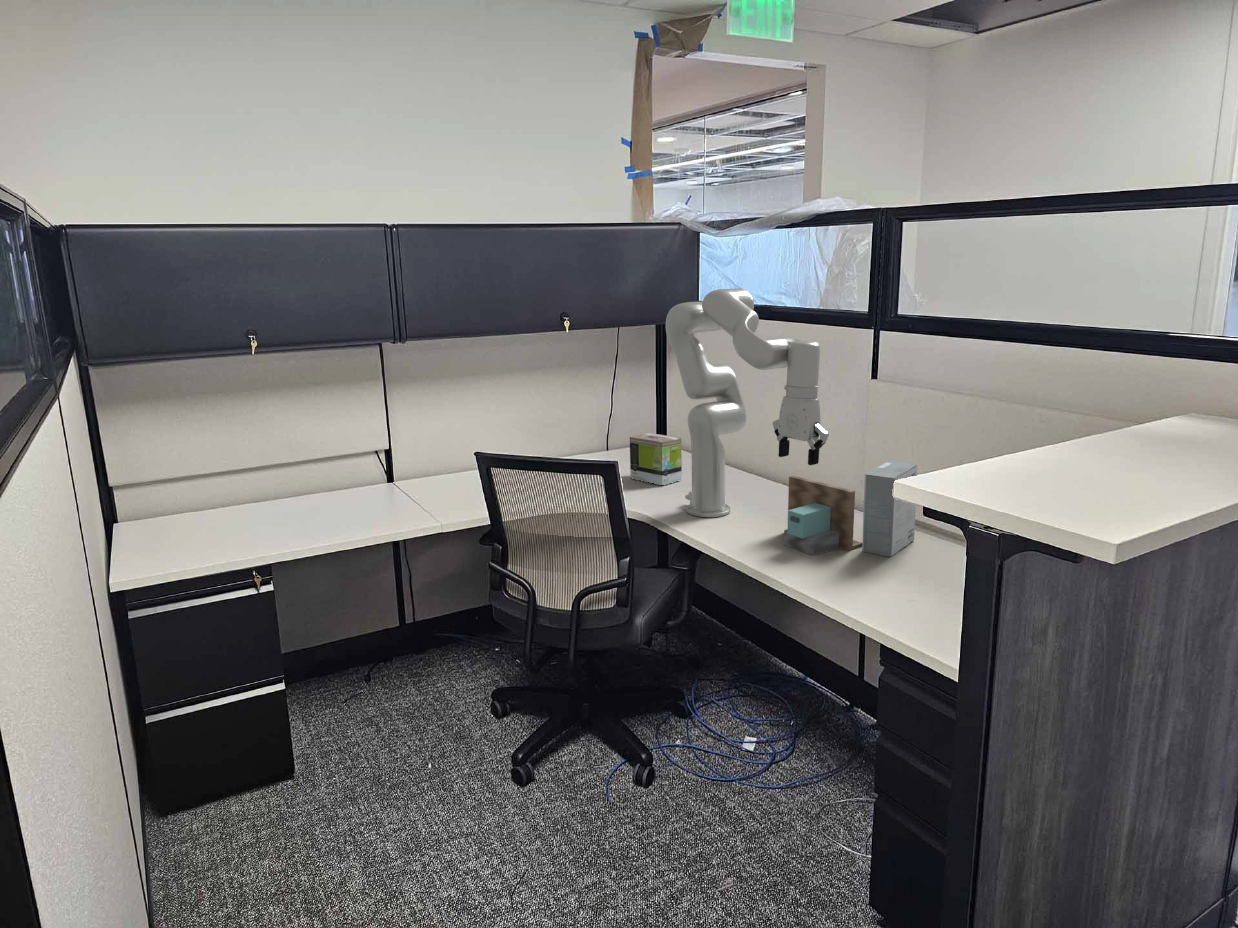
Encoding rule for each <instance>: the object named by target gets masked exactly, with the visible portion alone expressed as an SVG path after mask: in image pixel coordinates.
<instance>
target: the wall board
mask: <svg viewBox="0 0 1238 928" xmlns="http://www.w3.org/2000/svg"><path fill="white" fill-rule="evenodd" d="M855 500H856V490H852V489H848V488H844V487H841V486H837V485H836V486H835V485H832V484H828V483H824V482H820V481H816V480H812V479H808V478H803V477H800V476H796V475H789V476H788V501H787V502H788V503H787V506H788V507H787V511H788V510H791V509H795V508H798V507H802V506H806V505H809V504H813V503H818V504H821V505H825V506H828V507H831V518H830V530H829V531H826V532H822V533H819V534H816V535H813V536H809V537H806V538H800V537H797V536H794V535H790V534H787V529H788V528H786V529H784V530H783V537H784V538H783V546H785V547H788V548H791V549H793V550H797V551H800V552H802V553H806V554H808V555H812V556H813V557H814V556H818V555H821V554H824V553H827V552H831V551H832V550H833V551H834V550H837V549H842V550H844V551H848V552H849V551H853V550H855V549H857V548H862V541H858V540H854V528H855V527H854V526H855V525H854V523H855V502H856V501H855Z"/></svg>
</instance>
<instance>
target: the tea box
mask: <svg viewBox="0 0 1238 928" xmlns="http://www.w3.org/2000/svg"><path fill="white" fill-rule="evenodd" d="M629 459H630V460H629V463H630V465H629V466H630V467H629V469H630V479H631V478H632V479H631V480H634V479H635V481H639V480H641V481H640V482H643V481H644V482H645V483H648V482H649V483H648V484H652V483H654V485H657V486H661V485H664V486H667V485H666V484H668V483H672V482H675V483H677V482H676V481H678V480H681V481H682V475H683V474H682V461H683V460H682V438H681V437H678V436H671V435H665V434H660V433H659V434H657V433H652V432H647V433H642V434H638V435H633V436H629ZM672 484H673V483H672ZM668 485H669V484H668Z"/></svg>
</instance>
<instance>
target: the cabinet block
mask: <svg viewBox="0 0 1238 928" xmlns="http://www.w3.org/2000/svg"><path fill="white" fill-rule="evenodd" d="M830 518H831V507H828V506H825V505H821V504H818V503H813V504H809V505H806V506H802V507H798V508H795V509H791V510H788V509H787V528H786V529H787V534H790V535H794V536H797V537H800V538H806V537H809V536H813V535H816V534H819V533H822V532H826V531H829V530H830Z"/></svg>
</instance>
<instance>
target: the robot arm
mask: <svg viewBox="0 0 1238 928" xmlns="http://www.w3.org/2000/svg"><path fill="white" fill-rule="evenodd" d="M754 302H755V300H754V298H753V296H752V294H751V293H750V292H749V291H748V290H746V289H744V288H718V289H714V290H712V291H709V292H708V293H707V294H705V296H704V297H703V300H701V301H687V302H682V303H678V304H675V305H674V306H672V307H671V308H670V309H669V311H668V313H667V315H666V319H665V332H666V337H667V339H668V340H667V341H668V343H669V344H670V346H671V349H672V351H673V353H674V356H675V359H676V362H677V366H678V371H679V374H680V377H681V381H682V385H683V388H684V391H685V395H686V396H687V397H688V398H689V399H691V400H694V401H695V400H697V401H699V400H706V399H707V400H708V399H716V401H711V402H703V403H699V404H697V405H695V406H694V407H692V409H690V411H689V412H688V415H687V425H688V431H689V436H690V442H691V443H690V444H691V445H690V447H691V491H689V492H688V494H685V496H684V497H685V498H684V499H685V500H687V501H689V504H688V505H687V506H686V512H687V513H688V514H689V515H691V516H695V517H700V518H716V517H717V518H719V517H723V516H727V515H728V514H730V512H731V506H730V505H729V504H726V450H725V446H724V444H723V443H722V441H721V439H720V436H722V435H726V434H727V435H728V434H733V433H738V432H740V431H741V430H743V428H744V427H745V426H746V423H747V410H746V406H745V402H744V400H743V399H744V398H743V395H742V392H741V388H740V385H739V381H738V378H737V375H736V373H735V372H734V370H733V369H732V368H731V367H730V366H729V365H727V364H724V363H713V364H710V362H709V359H708V355H707V353H706V349H705V347H704V346H703V344H702V343H701V341H700V340H699V339H698V338H697V337H696V336H695V335H694V333H705V332H706V333H707V332H715V331H721V330H723V331H724V332H725V333H727V335H730V336H731V337H732V344H733V348H734V350H735V352H736V354H737V355H738V356H739V357H740V358H741V359H742V360H743V361H744V362H746V363H747V364H748V365H750V366H751V367H753V368H755V369H756V370H757V369H758V370H760V371H767V370H774V369H785V368H786V383H785V385H784V387H783V388H784V390H785V395H784V396H783V397H782V400H781V404H780V409H779V415H778V416H779V417H778V419H776V420H774V421H772V426H773V429H774V434H775V435H776V440H777V441H778V455H777V456H778V458H784V457H788V456H789V455H790V445H791V444H790V439H794V440H796V441H801V442H807V444H808V446H809V447H810V448H809V449H808V452H807V453H808V454H807V455H808V456H807V465H808V466H814V465H818V464H819V461H820V449H822V448H823V446H824V445H825V444H826V442H827V440H828V437H829V432H828V431H827V430H825V428H823V427H822V426H821V408H820V406H821V405H820V400H819V398H818V392H819V391H818V390H819V375H820V374H819V373H820V372H819V371H820V359H821V357H820V356H821V347H820V344H819V343H818V342H817V341H813V340H802V339H799V338H796V337H794V336H783V337H771V338H769V337H768V338H762V337H760V336H758V335H757V334H755V333H756V331H757V329H758V327H759V323H760V318H759V315H758V313H757V312H756V311H755V310H754V308H755V303H754Z"/></svg>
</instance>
